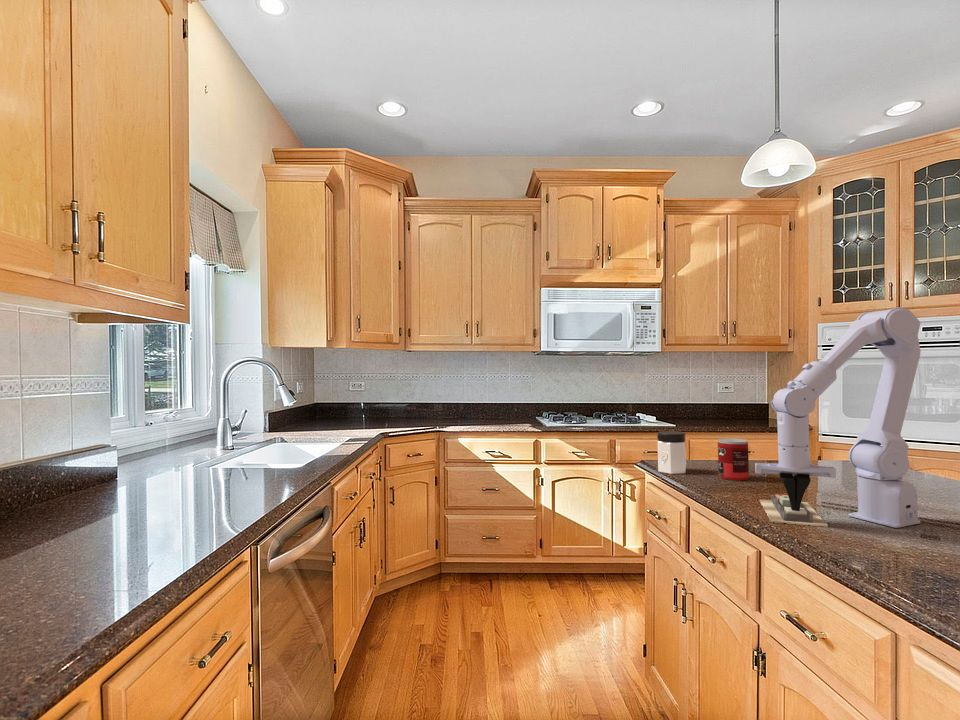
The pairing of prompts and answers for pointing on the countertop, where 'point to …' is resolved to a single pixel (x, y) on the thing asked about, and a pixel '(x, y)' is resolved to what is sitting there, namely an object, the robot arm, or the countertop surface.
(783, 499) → the key two
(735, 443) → the canned food
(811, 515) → the key board
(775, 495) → the key three
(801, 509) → the key one
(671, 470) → the jar
